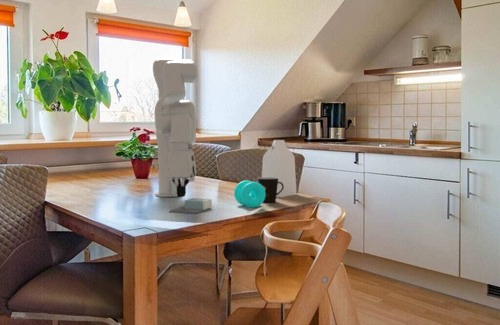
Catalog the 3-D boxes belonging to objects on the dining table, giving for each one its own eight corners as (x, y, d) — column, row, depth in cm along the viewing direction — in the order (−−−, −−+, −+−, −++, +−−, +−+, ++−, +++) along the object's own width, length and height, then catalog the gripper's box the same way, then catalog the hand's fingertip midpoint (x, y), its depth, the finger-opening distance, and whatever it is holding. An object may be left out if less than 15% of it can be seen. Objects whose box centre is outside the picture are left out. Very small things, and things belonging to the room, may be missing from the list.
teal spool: (242, 208, 180) (242, 182, 179) (233, 205, 189) (233, 180, 188) (266, 207, 184) (266, 181, 183) (256, 204, 193) (256, 179, 192)
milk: (280, 198, 211) (280, 140, 210) (260, 196, 219) (261, 140, 218) (296, 196, 220) (296, 140, 218) (277, 194, 228) (277, 140, 226)
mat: (184, 207, 182) (184, 206, 182) (210, 209, 179) (210, 207, 179) (169, 212, 171) (169, 210, 171) (196, 213, 167) (196, 212, 167)
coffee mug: (254, 201, 202) (254, 177, 201) (272, 200, 205) (272, 177, 205) (266, 204, 191) (266, 179, 191) (285, 203, 195) (285, 179, 194)
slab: (192, 198, 182) (211, 199, 180) (192, 206, 182) (211, 206, 180) (184, 200, 176) (204, 201, 173) (184, 208, 176) (204, 209, 173)
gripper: (203, 147, 177) (203, 196, 178) (168, 147, 182) (168, 194, 183) (194, 148, 170) (195, 198, 171) (158, 147, 175) (158, 197, 176)
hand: (181, 196), depth 177 cm, fingers closed
